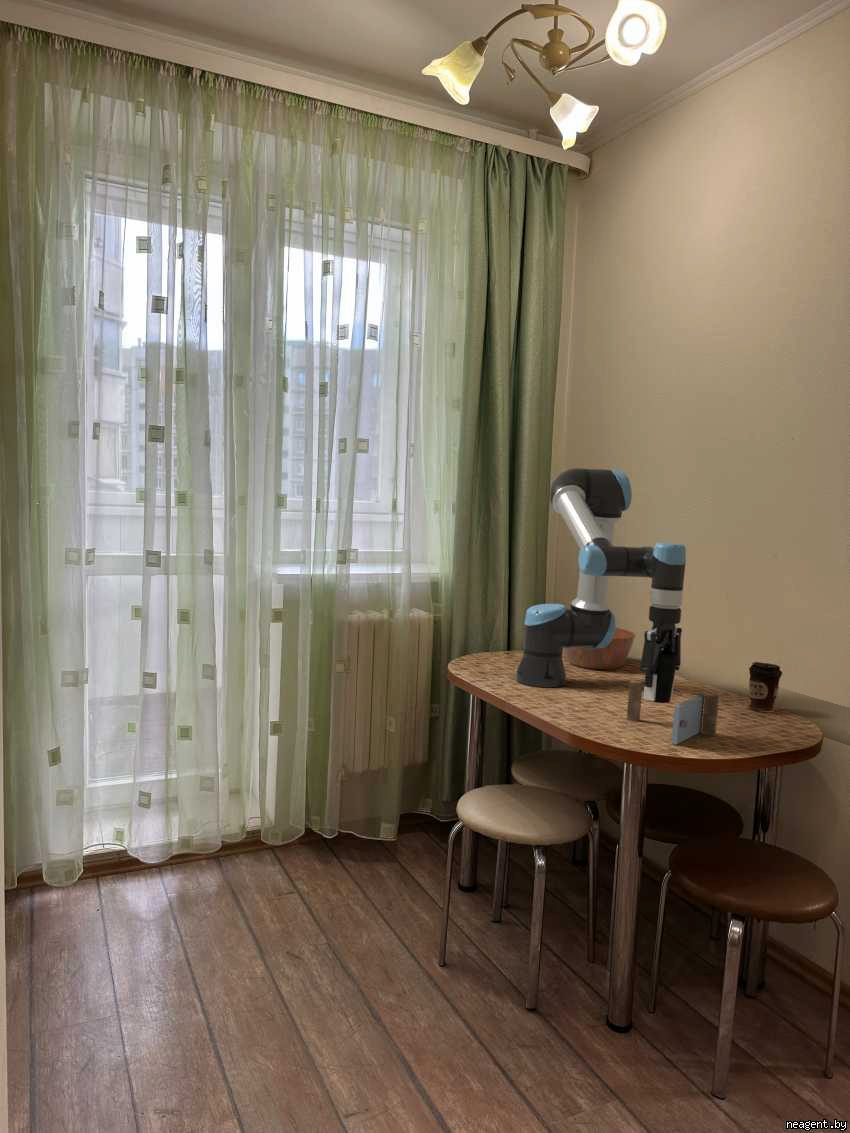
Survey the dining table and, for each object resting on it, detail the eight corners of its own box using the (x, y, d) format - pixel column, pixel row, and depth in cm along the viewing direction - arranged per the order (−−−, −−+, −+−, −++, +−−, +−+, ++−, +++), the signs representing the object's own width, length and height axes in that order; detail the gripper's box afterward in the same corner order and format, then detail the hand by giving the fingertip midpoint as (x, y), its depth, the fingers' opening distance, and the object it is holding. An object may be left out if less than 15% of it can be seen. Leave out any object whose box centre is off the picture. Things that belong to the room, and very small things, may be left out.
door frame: (626, 719, 222) (629, 681, 221) (629, 717, 224) (632, 680, 223) (713, 736, 211) (717, 696, 210) (715, 734, 213) (719, 695, 212)
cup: (637, 695, 216) (641, 648, 214) (667, 696, 216) (671, 649, 215) (648, 703, 208) (652, 655, 207) (678, 704, 209) (683, 656, 208)
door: (696, 731, 215) (700, 692, 214) (706, 733, 214) (709, 694, 213) (671, 744, 203) (674, 702, 202) (681, 746, 202) (684, 705, 201)
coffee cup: (762, 715, 234) (766, 668, 233) (738, 707, 241) (742, 661, 240) (784, 712, 238) (788, 666, 237) (760, 704, 245) (764, 660, 244)
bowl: (543, 664, 285) (546, 630, 284) (575, 653, 305) (578, 621, 304) (614, 677, 271) (617, 641, 270) (643, 665, 291) (646, 632, 290)
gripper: (673, 601, 220) (666, 688, 222) (629, 606, 205) (622, 700, 208) (700, 605, 214) (692, 695, 217) (657, 611, 200) (649, 706, 202)
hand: (658, 697), depth 212 cm, fingers closed on cup, 8 cm apart
